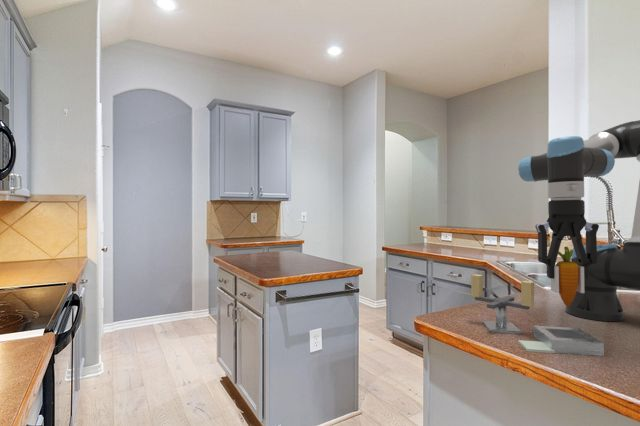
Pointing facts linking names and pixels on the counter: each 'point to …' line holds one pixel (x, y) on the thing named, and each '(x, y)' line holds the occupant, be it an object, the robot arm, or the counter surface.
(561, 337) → the gray square frame
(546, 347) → the pad
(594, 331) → the counter surface
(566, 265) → the carrot
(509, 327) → the square base pedestal
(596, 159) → the robot arm
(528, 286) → the handwheel
